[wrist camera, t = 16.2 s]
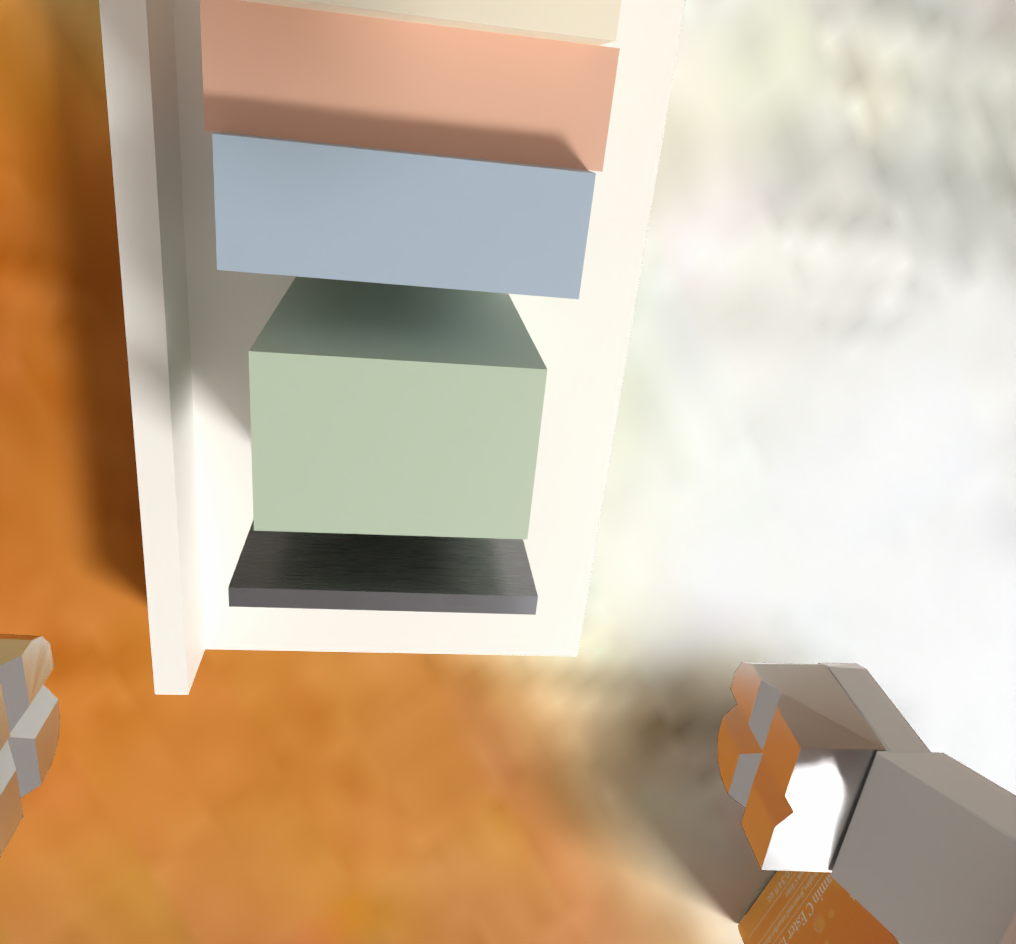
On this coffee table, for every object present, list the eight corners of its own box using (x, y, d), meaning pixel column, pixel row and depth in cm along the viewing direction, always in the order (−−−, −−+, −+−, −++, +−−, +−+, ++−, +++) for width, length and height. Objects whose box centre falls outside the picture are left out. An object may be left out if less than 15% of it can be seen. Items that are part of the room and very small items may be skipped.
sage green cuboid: (506, 289, 25) (547, 369, 17) (494, 417, 26) (527, 539, 19) (297, 274, 24) (248, 351, 16) (298, 406, 25) (253, 530, 18)
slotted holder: (679, -39, 23) (854, -129, 14) (571, 637, 31) (636, 850, 22) (137, -116, 21) (-69, -281, 12) (183, 628, 29) (85, 858, 20)
